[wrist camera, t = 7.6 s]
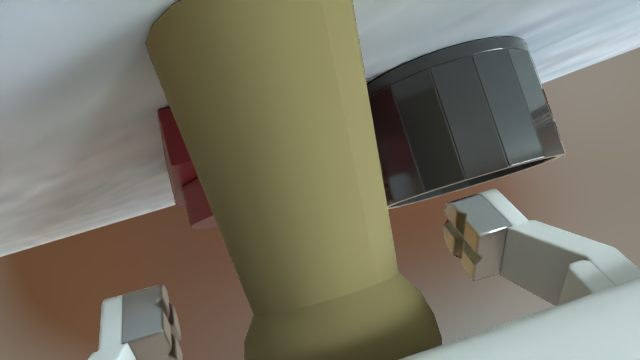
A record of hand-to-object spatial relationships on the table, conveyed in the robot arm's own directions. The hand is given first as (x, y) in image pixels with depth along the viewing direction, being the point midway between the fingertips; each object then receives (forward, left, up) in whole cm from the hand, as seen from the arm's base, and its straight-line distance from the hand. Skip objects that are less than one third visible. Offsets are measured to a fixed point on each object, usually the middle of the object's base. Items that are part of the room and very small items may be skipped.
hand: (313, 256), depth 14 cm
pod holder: (+10, -8, -7) cm, 15 cm away
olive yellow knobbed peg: (0, 0, -7) cm, 7 cm away
